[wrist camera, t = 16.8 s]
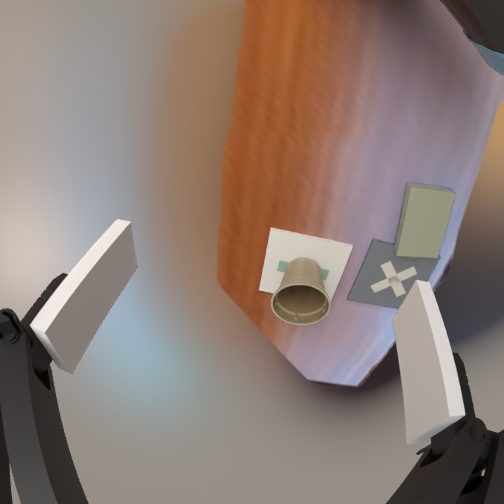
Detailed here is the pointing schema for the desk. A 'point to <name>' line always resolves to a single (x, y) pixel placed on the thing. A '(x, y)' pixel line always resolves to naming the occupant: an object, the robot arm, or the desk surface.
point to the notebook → (423, 220)
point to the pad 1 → (303, 246)
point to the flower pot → (301, 294)
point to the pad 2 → (388, 275)
